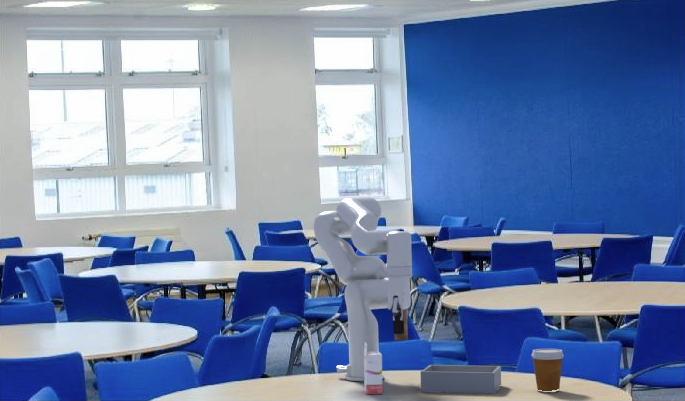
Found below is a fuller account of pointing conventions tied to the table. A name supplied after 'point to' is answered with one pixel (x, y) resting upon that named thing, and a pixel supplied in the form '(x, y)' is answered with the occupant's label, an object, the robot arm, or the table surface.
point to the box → (461, 379)
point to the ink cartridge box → (372, 372)
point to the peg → (404, 336)
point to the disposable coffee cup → (547, 368)
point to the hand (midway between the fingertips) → (400, 332)
